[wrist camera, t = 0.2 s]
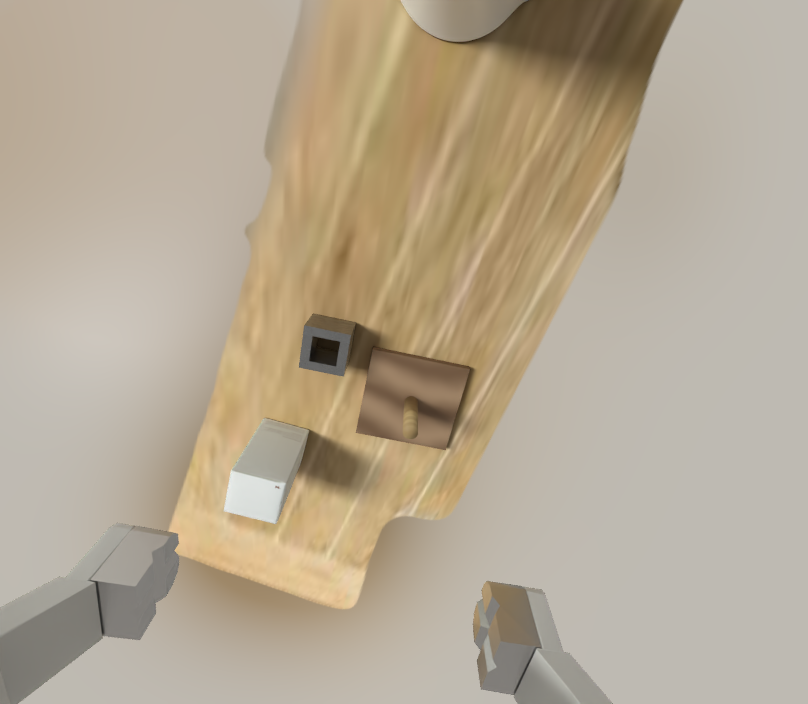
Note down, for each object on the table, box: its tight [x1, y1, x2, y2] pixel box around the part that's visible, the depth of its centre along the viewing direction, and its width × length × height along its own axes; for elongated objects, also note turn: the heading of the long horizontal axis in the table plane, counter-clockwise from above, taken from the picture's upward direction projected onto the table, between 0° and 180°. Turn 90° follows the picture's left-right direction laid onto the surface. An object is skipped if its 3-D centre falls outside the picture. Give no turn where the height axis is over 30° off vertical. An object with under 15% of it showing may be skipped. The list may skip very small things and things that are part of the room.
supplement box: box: [224, 418, 309, 524], centre depth 60 cm, size 7×7×13 cm
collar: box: [299, 314, 356, 376], centre depth 57 cm, size 6×6×5 cm
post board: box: [356, 347, 470, 450], centre depth 59 cm, size 14×14×9 cm
